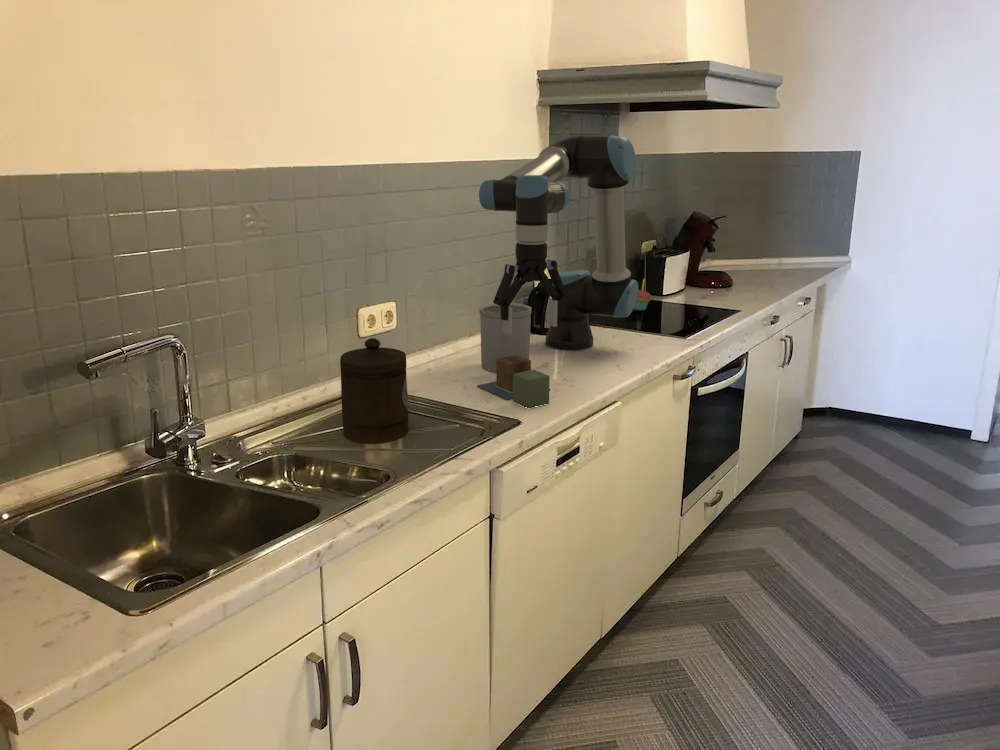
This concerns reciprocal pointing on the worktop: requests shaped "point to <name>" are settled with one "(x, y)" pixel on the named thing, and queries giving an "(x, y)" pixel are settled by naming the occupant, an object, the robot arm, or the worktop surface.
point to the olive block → (531, 388)
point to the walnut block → (510, 370)
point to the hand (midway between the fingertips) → (530, 329)
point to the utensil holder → (504, 334)
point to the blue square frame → (497, 390)
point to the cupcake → (642, 299)
